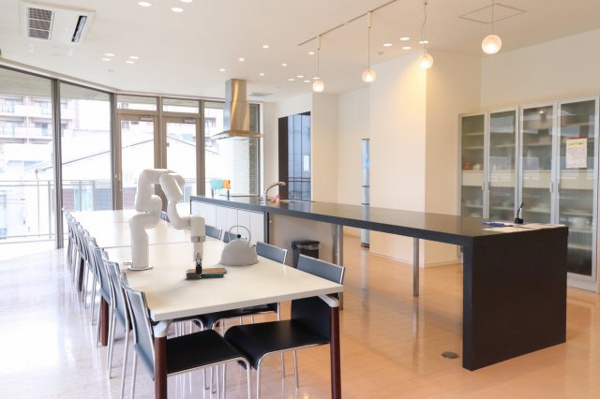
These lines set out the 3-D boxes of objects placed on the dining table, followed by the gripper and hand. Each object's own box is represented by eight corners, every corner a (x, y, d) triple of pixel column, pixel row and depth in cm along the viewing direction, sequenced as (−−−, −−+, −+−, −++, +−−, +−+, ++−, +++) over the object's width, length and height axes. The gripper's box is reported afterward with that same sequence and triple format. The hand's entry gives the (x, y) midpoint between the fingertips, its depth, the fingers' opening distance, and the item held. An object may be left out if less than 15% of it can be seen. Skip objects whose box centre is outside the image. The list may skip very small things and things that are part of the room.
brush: (186, 279, 235) (186, 272, 235) (186, 277, 239) (186, 271, 239) (224, 277, 239) (224, 271, 239) (223, 275, 243) (223, 269, 243)
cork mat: (187, 275, 245) (187, 273, 245) (188, 270, 257) (188, 269, 256) (225, 273, 249) (225, 272, 249) (224, 269, 261) (224, 267, 261)
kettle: (268, 261, 284) (267, 225, 283) (243, 267, 265) (243, 228, 264) (237, 257, 298) (237, 222, 297) (212, 262, 280) (212, 226, 278)
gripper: (190, 237, 245) (191, 269, 245) (190, 241, 228) (191, 275, 229) (205, 236, 246) (205, 268, 247) (205, 241, 229) (206, 274, 230)
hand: (198, 271), depth 238 cm, fingers open, 9 cm apart
